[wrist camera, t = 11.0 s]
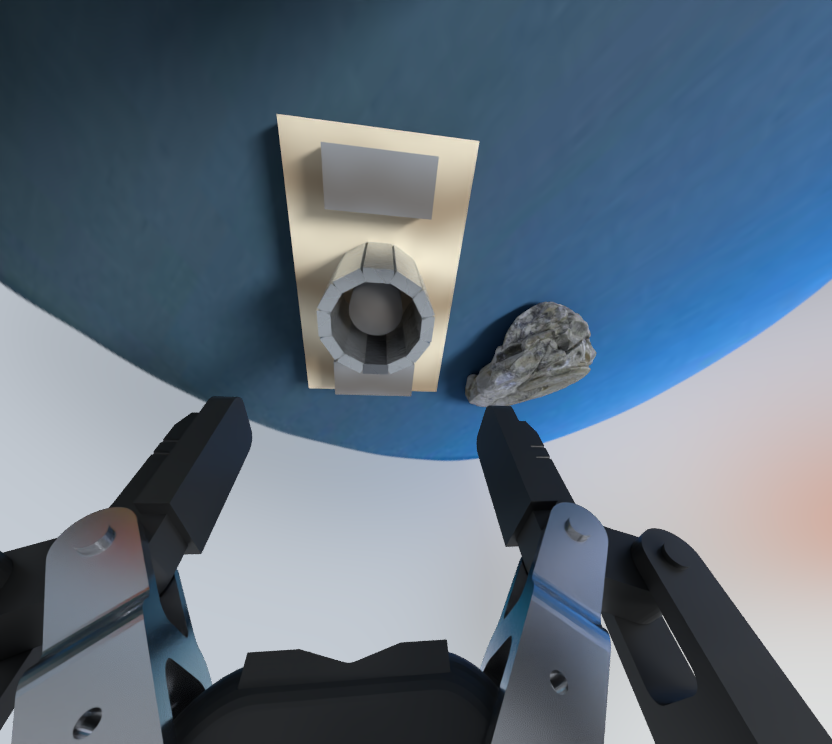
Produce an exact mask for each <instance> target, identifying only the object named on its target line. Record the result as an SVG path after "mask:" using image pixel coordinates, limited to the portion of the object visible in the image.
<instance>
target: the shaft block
mask: <svg viewBox="0 0 832 744" xmlns="http://www.w3.org/2000/svg"><path fill="white" fill-rule="evenodd" d="M277 122H278V130H279V139H280V147H281V156H282V164H283V173H284V181H285V190H286V198H287V206H288V215H289V223H290V232H291V240H292V249H293V257H294V266H295V274H296V283H297V291H298V300H299V308H300V317H301V325H302V334H303V342H304V351H305V359H306V368H307V376H308V385H309V388H323V389H335V394H345V395H384V396H411V393H412V391H431V392H436V390H437V384H438V379H439V373H440V367H441V361H442V355H443V350H444V344H445V338H446V332H447V326H448V321H449V315H450V309H451V303H452V297H453V291H454V286H455V280H456V274H457V268H458V262H459V257H460V251H461V245H462V239H463V233H464V228H465V222H466V216H467V210H468V204H469V199H470V193H471V187H472V181H473V175H474V170H475V164H476V158H477V152H478V146H479V141H474V140H466V139H459V138H451V137H444V136H437V135H429V134H422V133H414V132H407V131H399V130H392V129H385V128H377V127H370V126H362V125H355V124H348V123H340V122H333V121H325V120H318V119H310V118H303V117H296V116H288V115H281V114H277ZM365 242H366V243H367V245H368V242H377V243H389V244H392V247H393V246H394V245H395V246H397V247H398V248H399V249H401V250H402V251H404V252H405V253H406V254H408V255H409V256H410V257H412V258H413V260H415V263H416V265H417V267H418V269H419V272H420V274H421V276H422V278H423V281H424V284H425V287H426V290H427V293H428V296H429V299H430V302H431V305H432V308H433V311H434V314H435V315H434V316H435V322H434V328H433V335H432V342H430V345H429V347H428V348H427V349H426V350H425V352H424V353H423V354H422V355H421V357H420V358H419V359H418V360H417V361H416V363H414V362H413V365H411V366H408V367H406V368H404V369H401V370H399V371H397V372H394V373H392V374H390V373H389V371H388V375H384V374H363V370H362V371H361V372H360V373H359V372H357V371H355V370H353V369H351V368H349V367H347V366H345V365H343V364H341V363H339V362H337V359H336V360H335V359H334V358H333V357H332V355H331V354H330V352H329V351H328V350H327V348H326V347H325V346H324V344H323V343H322V342H321V340H320V337H319V335H318V323H317V311H316V310H317V307H318V305H319V302H320V300H321V298H322V296H323V294H324V292H325V290H326V287H327V285H328V283H329V281H330V279H331V277H332V275H333V273H334V271H335V269H336V267H337V266H338V264H339V262H340V260H341V258H342V257H343V255H345V253H346V252H348V251H350V250H352V249H354V248H356V247H358V246H359V245H361V244H363V243H365ZM344 298H345V299H346V301H347V303H348V304H349V315H350V318H351V320H352V322H353V324H354V325H355V326H356V327H357V328H358V329H359V330H361V331H362V332H364V333H367V334H370V335H384V334H387V333H389V332H391V331H392V330H394V329H395V328H396V327H397V326H398V324H399V323H400V321H401V318H402V314H403V313H404V311H405V310H406V308H407V307H408V306H409V304H410V303H411V301H412V297H410V296H409V295H407V294H406V293H404V292H403V291H401V290H400V289H398V288H397V287H395V286H394V285H392V284H387V283H372V282H364V283H362V284H360V285H358V286H356V287H354V288H352V289H350V290H348V291H346V292H344Z"/></svg>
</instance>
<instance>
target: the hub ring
mask: <svg viewBox="0 0 832 744" xmlns="http://www.w3.org/2000/svg"><path fill="white" fill-rule="evenodd" d="M364 282H372V283H387V284H392V285H394V286H395V287H397V288H398V289H400V290H401V291H403V292H404V293H406V294H407V295H409V296H410V297H412V301H411V303H410V304H409V306H408V307H407V308H406V310H405V311H404V313H403V314H402V318H401V321H400V323H399V324H398V326H397V327H396V328H395V329H394V330H392V331H391V332H389V333H387V334H384V335H370V334H367V333H364V332H362V331H361V330H359V329H358V328H357V327H356V326H355V325H354V324H353V322H352V320H351V318H350V315H349V304H348V303H347V301H346V299H345V298H344V292H346V291H348V290H350V289H352V288H354V287H356V286H358V285H360V284H362V283H364ZM316 311H317V323H318V335H319V337H320V340H321V342H322V343H323V344H324V346H325V347H326V348H327V350H328V351H329V352H330V354H331V355H332V357H333V358H334V359H335V360H336V359H337V362H339V363H341V364H343V365H345V366H347V367H349V368H351V369H353V370H355V371H357V372H359V373H360V372H361V371H362V370H363V374H384V375H388V371H389V373H390V374H392V373H394V372H397V371H399V370H401V369H404V368H406V367H408V366H411V365H413V362H414V363H416V361H417V360H418V359H419V358H420V357H421V355H422V354H423V353H424V352H425V350H426V349H427V348H428V347H429V345H430V342H432V335H433V328H434V322H435V316H434V315H435V314H434V311H433V308H432V305H431V302H430V299H429V296H428V293H427V290H426V287H425V284H424V281H423V278H422V276H421V274H420V272H419V269H418V267H417V265H416V263H415V260H413V258H412V257H410V256H409V255H408V254H406V253H405V252H404V251H402V250H401V249H399V248H398V247H397V246H395V245H394V246H393V247H392V244H389V243H377V242H368V245H367V243H366V242H365V243H363V244H361V245H359V246H358V247H356V248H354V249H352V250H350V251H348V252H346V253H345V255H343V257H342V258H341V260H340V262H339V264H338V266H337V267H336V269H335V271H334V273H333V275H332V277H331V279H330V281H329V283H328V285H327V287H326V290H325V292H324V294H323V296H322V298H321V300H320V302H319V305H318V307H317V310H316Z"/></svg>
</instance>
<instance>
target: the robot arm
mask: <svg viewBox="0 0 832 744" xmlns="http://www.w3.org/2000/svg"><path fill="white" fill-rule="evenodd" d="M251 443H252V431H251V427H250V424H249V420H248V417H247V413H246V410H245V406H244V403H243V400H242V399H241V398H240V397H221V396H213V397H211V398H210V399H209V400H208V401H207V403H206V404H205V405H204V407H203V408H202V409H201V411H200V412H199V413H191V414H189V415H188V416H186V417H185V418H184V419H182V420H181V421H179V422H178V423H176V424H175V425H174V427H173V428H172V429H171V430H170V431H169V433H168V434H167V435H166V436H165V438H164V439H163V442H161V443H160V444H159V445H158V447H157V448H156V449H155V450H154V454H153V455H151V456H150V457H149V458H148V459H147V461H146V462H145V463H144V464H143V466H142V467H141V468H140V470H139V471H138V472H137V473H136V475H135V476H134V477H133V478H132V480H131V481H130V482H129V484H128V485H127V486H126V487H125V489H124V490H123V491H122V492H121V494H120V495H119V496H118V497H117V499H116V500H115V501H114V503H113V504H112V505H111V506H110V507H109V508H107V509H103V510H99V511H97V512H94V513H92V514H90V515H88V516H86V517H84V518H82V519H80V520H79V521H77V522H75V523H74V524H73V525H71V526H70V527H69V528H67V529H66V530H65V531H64V532H63V533H62V534H61V535H60V536H59V537H58V538H55V539H52V540H48V541H44V542H40V543H37V544H33V545H30V546H26V547H22V548H19V549H15V550H11V551H7V552H4V553H2V552H1V551H0V730H1V728H2V727H3V725H4V723H5V722H6V720H7V719H8V717H9V715H10V714H11V712H12V711H13V709H14V720H13V731H12V743H11V744H604V733H605V720H606V707H607V694H608V679H609V667H610V654H611V642H610V636H611V638H612V641H613V643H614V645H615V648H616V650H617V653H618V655H619V657H620V660H621V662H622V664H623V667H624V669H625V672H626V674H627V677H628V679H629V681H630V684H631V686H632V689H633V691H634V693H635V696H636V698H637V701H638V703H639V705H640V708H641V710H642V712H643V715H644V717H645V720H646V722H647V725H648V727H649V729H650V731H651V734H652V736H653V739H654V741H655V744H832V739H831V737H830V736H829V735H828V734H827V732H826V730H825V729H824V728H823V726H822V725H821V724H820V722H819V721H818V719H817V718H816V717H815V715H814V714H813V713H812V711H811V710H810V708H809V707H808V706H807V704H806V703H805V701H804V700H803V699H802V697H801V696H800V695H799V693H798V692H797V690H796V689H795V688H794V687H793V685H792V683H791V682H790V681H789V679H788V678H787V677H786V675H785V674H784V672H783V671H782V670H781V668H780V667H779V665H778V664H777V663H776V661H775V660H774V659H773V657H772V656H771V655H770V653H769V652H768V650H767V649H766V648H765V646H764V645H763V643H762V642H761V641H760V639H759V638H758V637H757V635H756V634H755V632H754V631H753V630H752V628H751V627H750V625H749V624H748V623H747V621H746V620H745V618H744V617H743V616H742V615H741V613H740V612H739V610H738V609H737V607H736V606H735V605H734V603H733V602H732V601H731V599H730V598H729V597H728V595H727V594H726V592H725V591H724V590H723V588H722V587H721V585H720V584H719V583H718V581H717V580H716V578H715V577H714V576H713V574H712V573H711V572H710V570H709V569H708V567H707V566H706V565H705V563H704V562H703V560H702V559H701V558H700V556H699V555H698V554H697V553H696V552H695V551H694V549H693V548H692V547H690V546H689V545H688V544H687V543H686V542H684V541H683V540H682V539H680V538H679V537H677V536H676V535H674V534H672V533H670V532H668V531H665V530H662V529H656V528H652V529H648V530H646V531H645V532H644V533H643V534H642V535H641V536H640V537H636V536H633V535H630V534H626V533H623V532H620V531H617V530H613V529H610V528H607V527H604V526H603V525H602V524H601V522H600V521H599V520H598V519H597V518H596V517H595V516H594V515H593V514H592V513H591V512H590V511H588V510H587V509H585V508H583V507H582V506H579V505H577V504H575V502H574V501H573V499H572V497H571V495H570V493H569V491H568V489H567V488H566V486H565V484H564V482H563V480H562V478H561V476H560V474H559V473H558V471H557V469H556V467H555V465H554V463H553V461H552V460H551V459H550V456H549V454H548V452H547V450H546V448H544V445H543V443H542V441H541V439H540V437H539V435H538V433H537V432H536V431H535V430H534V429H533V428H532V427H531V426H530V425H529V424H528V423H527V422H526V421H519V420H518V418H517V416H516V414H515V412H514V410H513V408H512V407H511V406H496V405H489V406H487V408H486V410H485V413H484V416H483V420H482V423H481V426H480V429H479V432H478V436H477V452H478V456H479V459H480V463H481V466H482V469H483V473H484V476H485V479H486V482H487V486H488V489H489V493H490V496H491V499H492V502H493V506H494V509H495V512H496V516H497V519H498V523H499V525H500V529H501V532H502V536H503V539H504V542H505V546H506V547H511V546H519V549H520V552H521V555H522V557H521V559H520V561H519V564H518V567H517V570H516V573H515V576H514V578H513V581H512V584H511V587H510V591H509V593H508V596H507V599H506V602H505V605H504V608H503V611H502V614H501V617H500V620H499V622H498V625H497V627H496V629H495V631H494V633H493V636H492V638H491V640H490V642H489V645H488V647H487V650H486V653H485V655H484V658H483V661H482V664H481V667H480V669H479V668H478V667H476V666H475V665H473V664H472V663H471V662H469V661H467V660H466V659H464V658H462V657H460V656H458V655H456V654H453V653H449V652H448V647H447V640H435V641H434V640H433V641H418V642H404V643H399V644H396V645H394V646H391V647H389V648H387V649H384V650H382V651H380V652H378V653H375V654H372V655H370V656H367V657H365V658H363V659H360V660H358V661H355V662H352V663H345V662H341V661H338V660H334V659H331V658H328V657H324V656H321V655H317V654H314V653H311V652H307V651H303V650H300V649H296V650H281V651H266V652H250V653H247V657H246V660H245V664H244V667H243V668H241V669H238V670H236V671H234V672H232V673H230V674H229V675H227V676H225V677H223V678H222V679H220V680H219V681H217V682H216V683H214V684H213V685H212V682H211V678H210V674H209V671H208V668H207V665H206V662H205V660H204V657H203V655H202V653H201V651H200V649H199V647H198V645H197V642H196V639H195V636H194V632H193V628H192V624H191V620H190V616H189V612H188V608H187V604H186V600H185V596H184V592H183V589H182V584H181V580H180V576H179V572H178V570H177V567H178V565H179V563H180V561H181V559H182V557H183V555H184V554H201V553H202V551H203V549H204V547H205V545H206V542H207V540H208V538H209V536H210V534H211V532H212V529H213V527H214V525H215V523H216V521H217V519H218V517H219V514H220V512H221V510H222V508H223V506H224V504H225V502H226V500H227V497H228V495H229V493H230V491H231V489H232V487H233V485H234V482H235V480H236V478H237V476H238V474H239V471H240V470H241V467H242V465H243V463H244V461H245V459H246V457H247V454H248V452H249V450H250V447H251ZM601 614H602V617H603V619H604V621H605V624H606V626H607V629H608V631H609V633H610V636H609V633H608V631H607V630H606V629H604V628H603V627H602V625H601ZM662 615H663V616H664V618H665V620H666V622H667V624H668V625H669V627H670V629H671V631H672V633H673V634H674V636H675V638H676V640H677V641H678V644H679V645H680V647H681V649H682V651H683V652H684V654H685V656H686V658H687V660H688V662H689V663H690V665H691V667H692V669H693V671H694V674H695V676H694V674H693V672H692V670H691V668H690V666H689V665H688V663H687V661H686V659H685V657H684V656H683V654H682V652H681V650H680V648H679V647H678V645H677V643H676V641H675V639H674V637H673V635H672V634H671V632H670V630H669V628H668V626H667V624H666V623H665V621H664V619H663V617H662Z"/></svg>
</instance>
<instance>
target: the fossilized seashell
mask: <svg viewBox="0 0 832 744" xmlns="http://www.w3.org/2000/svg"><path fill="white" fill-rule="evenodd" d="M590 335H591V334H590V330H589V329H588V324H587V323H586V322H585V321H584V320H583V319H582V317H581V316H580V315H579V314H577V313H575V312H573V311H572V310H570V309H569V308H567V307H566V306H563V305H560V304H556V303H554V302H543V303H539V304H537V305H535V306H533V307H531V308H530V309H528V310H527V311H525V312H523V313H522V314H521V315H519V316H518V317H517V318H516V319H515V321H514V322H513V323H512V325H511V326H510V328H509V329H508V331H507V333H506V336H505V339H504V342H503V345H502V346H498V348H497V349H496V350H495V356H494V358H493V360H492V362H491V363H489V364H488V365H486V366H485V367H484V368H482V369H480V372H479V375H476V374H471V375H469V376H468V377H467V383H466V388H465V395H466V397H467V399H468V400H469V403H471V404H475V405H476V406H481V407H487V406H489V405H496V406H509V405H513V404H517V403H521V402H524V401H527V400H531V399H534V398H538V397H542V396H545V395H548V394H550V393H553V392H555V391H558V390H560V389H563V388H566V387H567V386H568V385H570V384H573V383H575V382H577V381H579V380H580V379H582V378H583V377H584V376H586V375H587V374H588V373H589V371H590V368H589V365H590V364H591V363H592V362H593V359H594V358H595V356H596V351H595V350H594V349H593V347H592V346H591V343H590V341H589V340H590V339H589V338H590Z"/></svg>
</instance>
